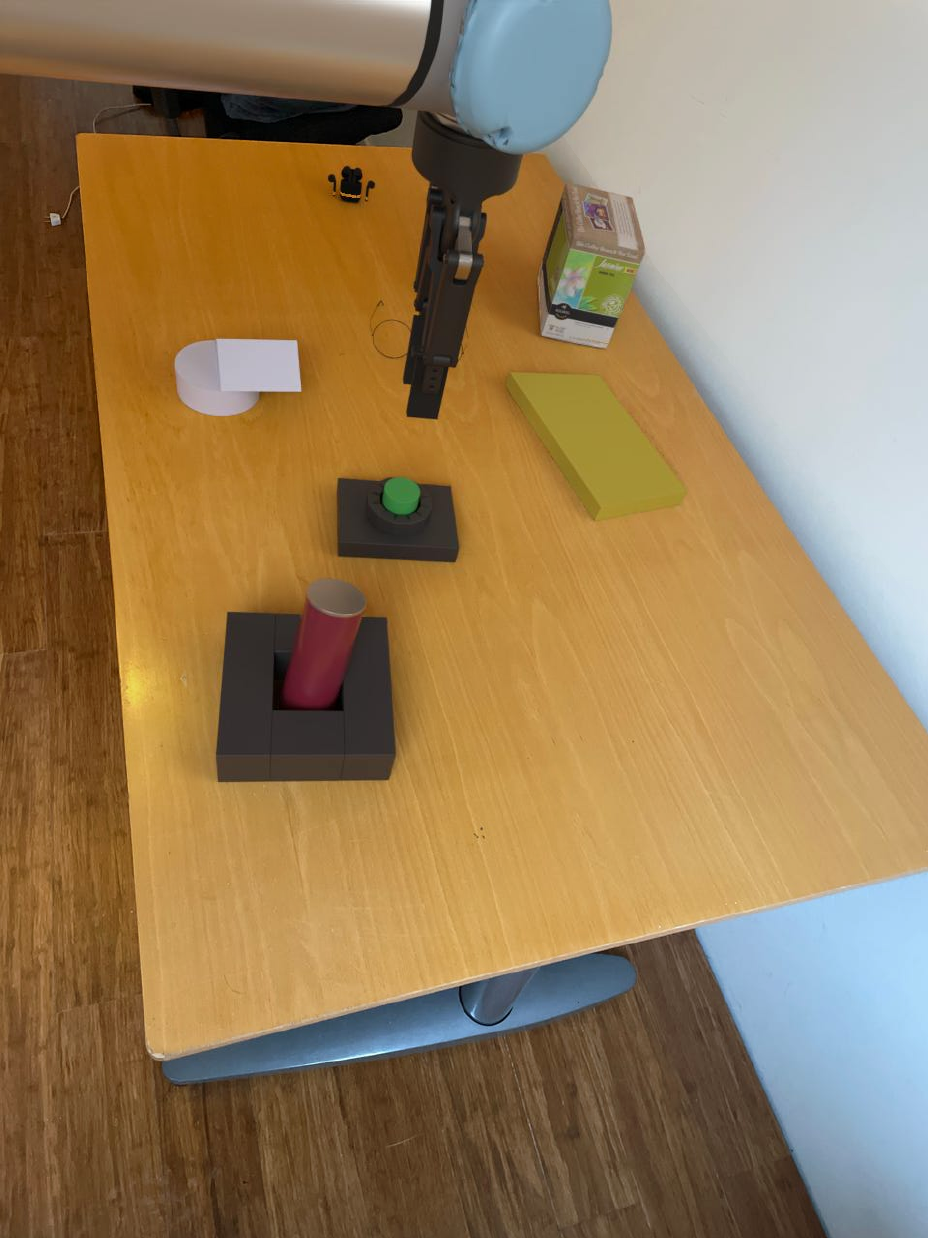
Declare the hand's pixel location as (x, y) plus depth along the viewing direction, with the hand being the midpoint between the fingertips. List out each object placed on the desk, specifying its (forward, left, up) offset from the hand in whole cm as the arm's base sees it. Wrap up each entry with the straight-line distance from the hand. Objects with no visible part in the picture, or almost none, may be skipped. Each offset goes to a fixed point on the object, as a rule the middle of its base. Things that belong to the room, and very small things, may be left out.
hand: (419, 398), depth 72 cm
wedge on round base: (-17, +20, -17) cm, 31 cm away
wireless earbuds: (-3, +68, -17) cm, 70 cm away
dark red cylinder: (-9, -23, -16) cm, 29 cm away
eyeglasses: (+5, +34, -17) cm, 38 cm away
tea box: (+28, +44, -17) cm, 55 cm away
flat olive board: (+25, +16, -17) cm, 34 cm away
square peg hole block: (-9, -22, -17) cm, 29 cm away
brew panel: (0, 0, -17) cm, 17 cm away
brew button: (0, 0, -13) cm, 13 cm away
